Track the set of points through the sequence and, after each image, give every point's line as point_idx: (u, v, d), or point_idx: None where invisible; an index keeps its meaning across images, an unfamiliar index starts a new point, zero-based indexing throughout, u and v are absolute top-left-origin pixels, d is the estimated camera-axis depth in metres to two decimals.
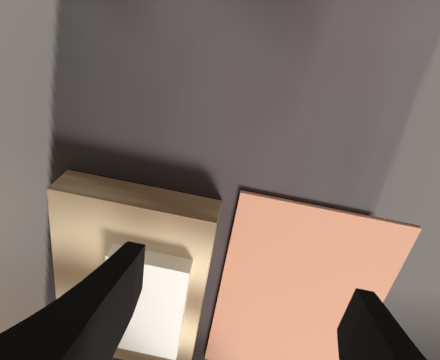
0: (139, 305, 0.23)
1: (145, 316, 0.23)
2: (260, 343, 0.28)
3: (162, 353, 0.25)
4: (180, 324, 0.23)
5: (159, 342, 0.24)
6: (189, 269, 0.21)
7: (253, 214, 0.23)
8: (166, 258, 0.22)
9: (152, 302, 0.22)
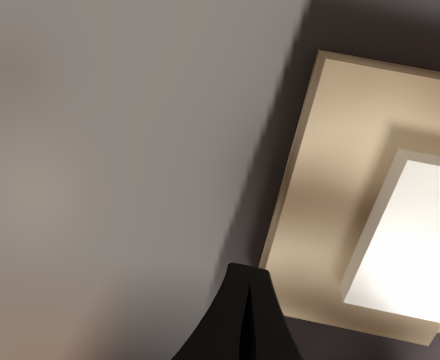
0: (426, 240, 0.16)
1: (427, 257, 0.16)
2: None
3: (427, 313, 0.18)
4: None
5: (430, 297, 0.17)
6: None
7: None
8: None
9: None
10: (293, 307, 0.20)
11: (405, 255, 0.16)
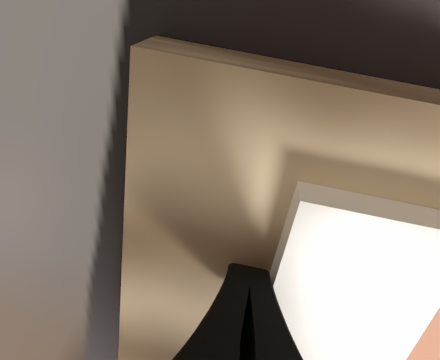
0: (339, 306, 0.12)
1: (344, 327, 0.12)
2: None
3: None
4: (413, 343, 0.12)
5: None
6: None
7: None
8: (413, 209, 0.11)
9: (370, 300, 0.11)
10: None
11: (315, 323, 0.12)
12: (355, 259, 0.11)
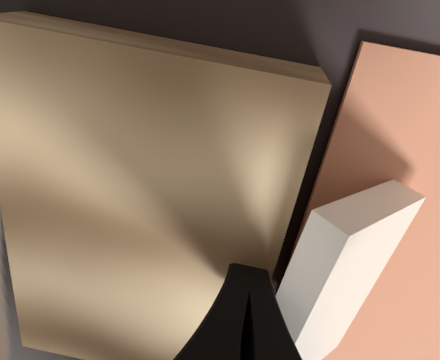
0: (342, 299, 0.12)
1: (340, 311, 0.13)
2: (352, 342, 0.17)
3: (328, 350, 0.15)
4: (370, 289, 0.14)
5: (334, 337, 0.15)
6: (415, 192, 0.12)
7: (382, 92, 0.12)
8: (381, 192, 0.12)
9: (360, 280, 0.12)
10: (65, 345, 0.16)
11: (324, 325, 0.12)
12: (364, 257, 0.11)
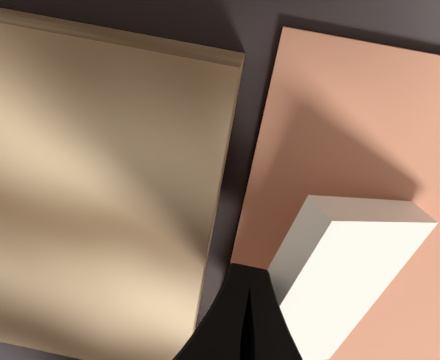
0: (331, 297, 0.13)
1: (328, 312, 0.13)
2: None
3: (317, 357, 0.15)
4: (370, 306, 0.14)
5: (323, 343, 0.15)
6: (428, 216, 0.13)
7: (306, 77, 0.12)
8: (390, 205, 0.12)
9: (353, 286, 0.13)
10: (13, 334, 0.16)
11: (308, 317, 0.13)
12: (355, 258, 0.12)
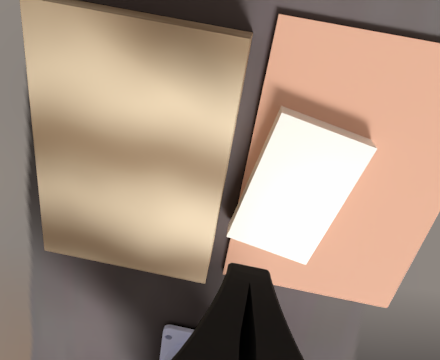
0: (294, 186, 0.19)
1: (294, 202, 0.20)
2: None
3: (293, 253, 0.21)
4: (333, 217, 0.20)
5: (296, 239, 0.21)
6: (374, 145, 0.18)
7: (294, 49, 0.17)
8: (344, 131, 0.18)
9: (312, 184, 0.19)
10: (77, 247, 0.22)
11: (277, 198, 0.20)
12: (307, 155, 0.18)
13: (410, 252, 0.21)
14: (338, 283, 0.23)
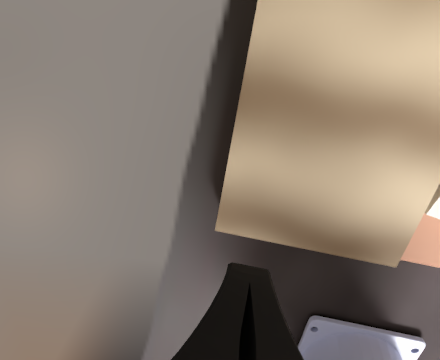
0: None
1: None
2: None
3: None
4: None
5: None
6: None
7: None
8: None
9: None
10: (255, 227, 0.19)
11: None
12: None
13: None
14: None
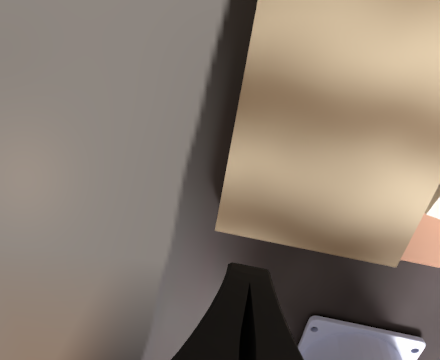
0: None
1: None
2: None
3: None
4: None
5: None
6: None
7: None
8: None
9: None
10: (255, 227, 0.19)
11: None
12: None
13: None
14: None
